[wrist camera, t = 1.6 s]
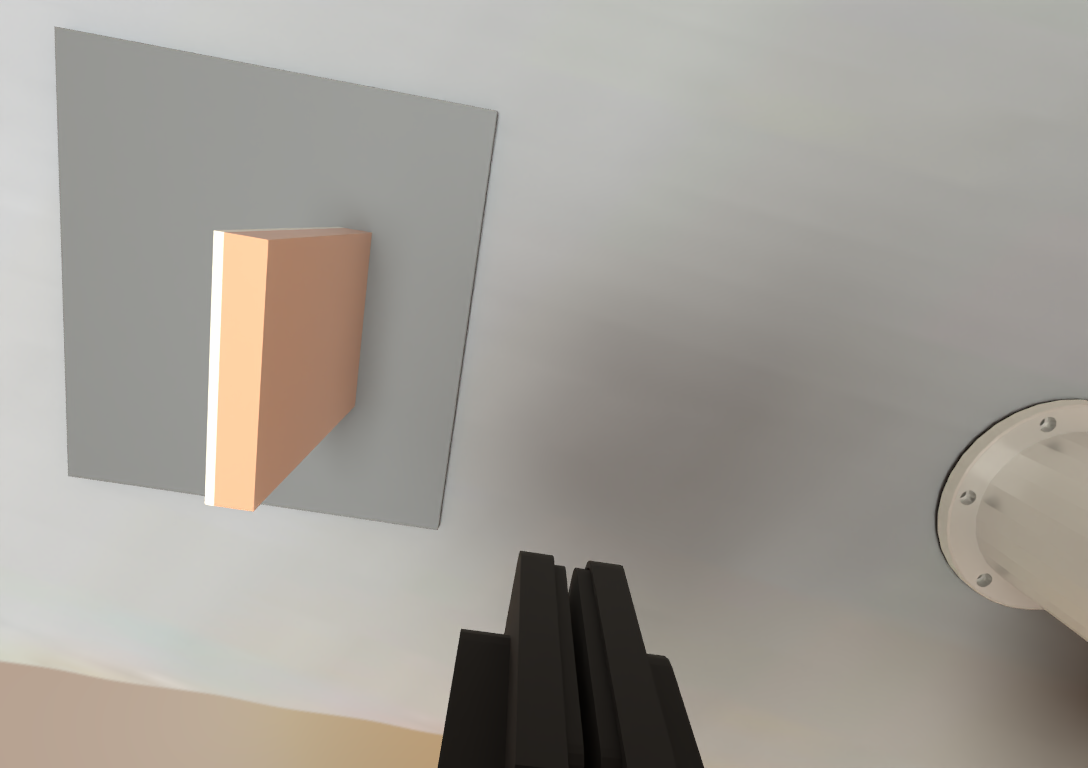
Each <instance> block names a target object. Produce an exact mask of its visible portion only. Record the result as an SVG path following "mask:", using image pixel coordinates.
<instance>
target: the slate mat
mask: <svg viewBox="0 0 1088 768" xmlns="http://www.w3.org/2000/svg"><path fill="white" fill-rule="evenodd" d="M55 59H56V92H57V125H58V157H59V190H60V223H61V256H62V288H63V321H64V354H65V387H66V419H67V452H68V476H72V477H79V478H85V479H92V480H99V481H106V482H113V483H119V484H126V485H133V486H140V487H147V488H154V489H160V490H167V491H174V492H181V493H188V494H194V495H201V496H205V481H206V451H207V420H208V389H209V358H210V327H211V297H212V266H213V235H214V230H244V229H279V228H313V227H343V228H349V229H355V230H360V231H366V232H372V237H371V247H370V257H369V267H368V277H367V288H366V298H365V308H364V318H363V329H362V339H361V349H360V359H359V369H358V380H357V390H356V400H355V406H354V407H353V408H352V409H351V411H350V412H349V413H348V414H347V415H346V416H345V417H344V418H343V419H342V420H341V421H340V422H339V423H338V424H337V425H336V426H335V427H334V428H333V429H332V430H331V431H330V432H329V433H328V434H327V435H326V436H325V438H324V439H323V440H322V441H321V442H320V443H319V444H318V445H317V446H316V447H315V448H314V449H313V450H312V451H311V452H310V453H309V454H308V455H307V456H306V457H305V458H304V459H303V460H302V461H301V462H300V464H299V465H298V466H297V467H296V468H295V469H294V470H293V471H292V472H291V473H290V474H289V475H288V476H287V477H286V478H285V479H284V480H283V481H282V482H281V483H280V484H279V485H278V486H277V487H276V488H275V489H274V491H273V492H272V493H271V494H270V495H269V496H268V497H267V498H266V499H265V500H264V501H263V502H262V503H261V504H263V505H269V506H276V507H283V508H290V509H297V510H304V511H310V512H317V513H324V514H331V515H338V516H344V517H351V518H358V519H365V520H372V521H379V522H385V523H392V524H399V525H406V526H413V527H419V528H426V529H433V530H438V527H439V522H440V515H441V508H442V501H443V494H444V487H445V480H446V473H447V466H448V459H449V452H450V445H451V438H452V431H453V424H454V417H455V410H456V403H457V396H458V389H459V382H460V375H461V368H462V361H463V354H464V347H465V340H466V333H467V326H468V319H469V312H470V305H471V298H472V291H473V284H474V277H475V270H476V263H477V256H478V249H479V242H480V235H481V228H482V221H483V214H484V207H485V200H486V193H487V186H488V179H489V172H490V165H491V158H492V151H493V144H494V137H495V130H496V123H497V116H498V112H497V111H495V110H489V109H484V108H479V107H474V106H468V105H463V104H458V103H453V102H448V101H442V100H437V99H432V98H427V97H421V96H416V95H411V94H406V93H400V92H395V91H390V90H385V89H379V88H374V87H369V86H364V85H358V84H353V83H348V82H343V81H337V80H332V79H327V78H322V77H316V76H311V75H306V74H301V73H295V72H290V71H285V70H280V69H275V68H269V67H264V66H259V65H254V64H248V63H243V62H238V61H233V60H227V59H222V58H217V57H212V56H206V55H201V54H196V53H191V52H185V51H180V50H175V49H170V48H164V47H159V46H154V45H149V44H143V43H138V42H133V41H128V40H123V39H117V38H112V37H107V36H102V35H96V34H91V33H86V32H81V31H75V30H70V29H65V28H60V27H55Z"/></svg>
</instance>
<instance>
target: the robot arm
mask: <svg viewBox="0 0 1088 768" xmlns="http://www.w3.org/2000/svg"><path fill="white" fill-rule="evenodd" d="M938 536H939V540H940V545H941V549H942V551H943V553H944V555H945V558H946V560H947V562H948V564H949V565H950V567H951V568H952V569H953V570H954V572H955V573H956V574H957V575H958V576H959V578H960V579H962V580H963V581H964V582H965V583H966V584H967V585H969V586H970V587H971V588H972V589H973V590H974V591H976V592H977V593H979V594H981V595H982V596H984V597H986V598H987V599H989V600H991V601H993V602H996V603H999V604H1002V605H1004V606H1007V607H1012V608H1019V609H1026V610H1040V609H1045V610H1046V611H1047V612H1049V613H1050V614H1051V615H1053V616H1054V617H1055V618H1057V619H1058V620H1059V621H1061V622H1062V623H1063V624H1065V625H1066V626H1067V627H1068V628H1070V629H1071V630H1072V631H1074V632H1075V633H1076V634H1078V635H1079V636H1080V637H1082V638H1083V639H1084V640H1086V641H1087V642H1088V400H1058V401H1053V402H1048V403H1043V404H1038V405H1035V406H1033V407H1030V408H1028V409H1025V410H1022V411H1020V412H1017V413H1015V414H1013V415H1011V416H1010V417H1008V418H1006V419H1004V420H1003V421H1001V422H999V423H997V424H996V425H995V426H993V427H992V428H991V429H990V430H988V431H987V432H986V433H985V434H983V435H982V436H981V437H980V438H978V439H977V440H976V441H975V442H974V444H973V445H972V446H971V447H970V448H969V449H968V450H967V451H966V452H965V453H964V454H963V456H962V457H961V458H960V460H959V462H958V463H957V465H956V466H955V468H954V469H953V471H952V472H951V474H950V476H949V478H948V481H947V483H946V485H945V488H944V490H943V492H942V496H941V501H940V505H939V510H938ZM438 768H704V766H703V763H702V760H701V757H700V753H699V750H698V747H697V744H696V741H695V738H694V735H693V731H692V728H691V725H690V722H689V719H688V716H687V713H686V709H685V706H684V703H683V700H682V697H681V694H680V691H679V687H678V684H677V681H676V678H675V675H674V672H673V668H672V666H671V664H670V661H669V659H668V658H666V657H665V656H660V655H653V654H646V650H645V646H644V643H643V639H642V635H641V631H640V628H639V624H638V620H637V617H636V613H635V609H634V605H633V602H632V598H631V594H630V591H629V587H628V583H627V579H626V576H625V572H624V569H623V566H621V565H615V564H608V563H601V562H594V561H588V562H587V565H586V567H585V569H579V568H575V569H574V571H573V575H572V579H571V584H570V588H569V593H568V588H567V578H566V569H565V566H558V565H554V557H553V556H552V555H546V554H539V553H532V552H525V551H520V553H519V557H518V562H517V567H516V573H515V578H514V584H513V589H512V595H511V600H510V606H509V611H508V617H507V622H506V628H505V633H504V635H503V634H496V633H488V632H481V631H473V630H466V629H461V632H460V638H459V644H458V650H457V656H456V662H455V668H454V674H453V680H452V686H451V692H450V698H449V703H448V709H447V715H446V721H445V727H444V733H443V739H442V746H441V751H440V757H439V763H438Z"/></svg>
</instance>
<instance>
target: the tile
mask: <svg viewBox="0 0 1088 768" xmlns="http://www.w3.org/2000/svg"><path fill="white" fill-rule="evenodd" d="M371 237H372V232H366V231H360V230H355V229H349V228H343V227H313V228H279V229H244V230H214V235H213V266H212V297H211V327H210V358H209V389H208V420H207V451H206V481H205V504H206V505H213V506H220V507H226V508H233V509H240V510H247V511H254V510H255V509H256V508H257V507H258V506H259V505H260V504H261V503H262V502H263V501H264V500H265V499H266V498H267V497H268V496H269V495H270V494H271V493H272V492H273V491H274V489H275V488H276V487H277V486H278V485H279V484H280V483H281V482H282V481H283V480H284V479H285V478H286V477H287V476H288V475H289V474H290V473H291V472H292V471H293V470H294V469H295V468H296V467H297V466H298V465H299V464H300V462H301V461H302V460H303V459H304V458H305V457H306V456H307V455H308V454H309V453H310V452H311V451H312V450H313V449H314V448H315V447H316V446H317V445H318V444H319V443H320V442H321V441H322V440H323V439H324V438H325V436H326V435H327V434H328V433H329V432H330V431H331V430H332V429H333V428H334V427H335V426H336V425H337V424H338V423H339V422H340V421H341V420H342V419H343V418H344V417H345V416H346V415H347V414H348V413H349V412H350V411H351V409H352V408H353V407H354V406H355V400H356V390H357V380H358V369H359V359H360V349H361V339H362V329H363V318H364V308H365V298H366V288H367V277H368V267H369V257H370V247H371Z"/></svg>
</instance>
